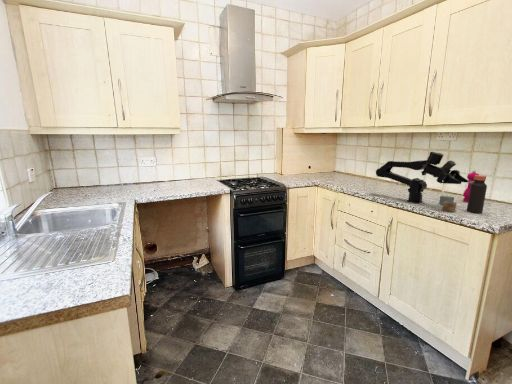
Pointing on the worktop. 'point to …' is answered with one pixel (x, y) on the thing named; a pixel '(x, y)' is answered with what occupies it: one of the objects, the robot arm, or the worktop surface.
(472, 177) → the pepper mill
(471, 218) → the worktop surface
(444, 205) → the walnut cube
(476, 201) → the vinegar
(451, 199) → the slate cube
